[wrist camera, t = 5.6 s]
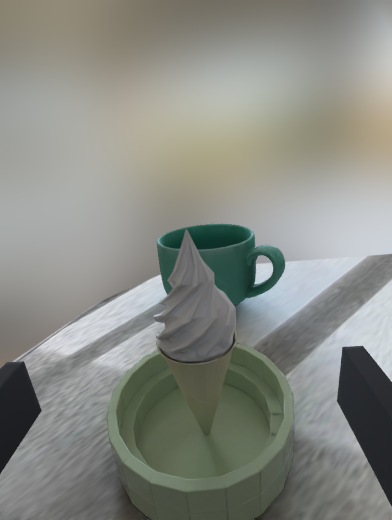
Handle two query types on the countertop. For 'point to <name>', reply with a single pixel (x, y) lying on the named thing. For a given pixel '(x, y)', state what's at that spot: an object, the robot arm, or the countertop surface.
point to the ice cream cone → (197, 333)
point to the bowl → (203, 441)
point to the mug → (223, 258)
